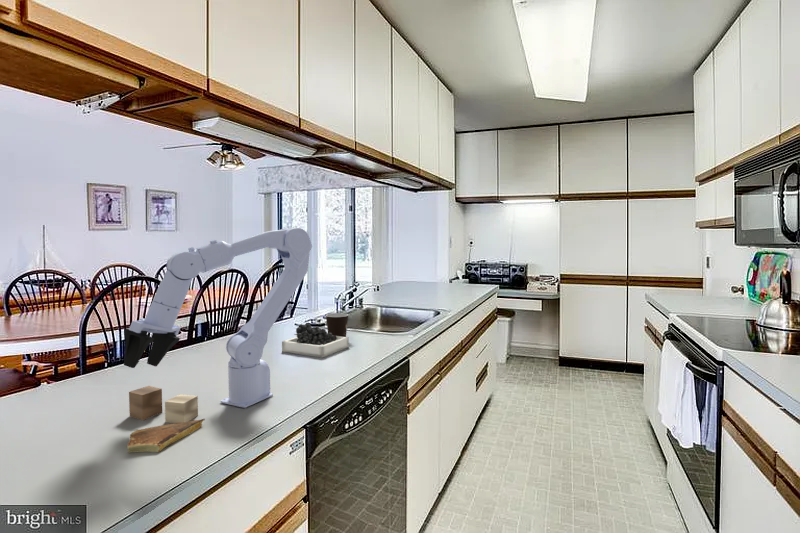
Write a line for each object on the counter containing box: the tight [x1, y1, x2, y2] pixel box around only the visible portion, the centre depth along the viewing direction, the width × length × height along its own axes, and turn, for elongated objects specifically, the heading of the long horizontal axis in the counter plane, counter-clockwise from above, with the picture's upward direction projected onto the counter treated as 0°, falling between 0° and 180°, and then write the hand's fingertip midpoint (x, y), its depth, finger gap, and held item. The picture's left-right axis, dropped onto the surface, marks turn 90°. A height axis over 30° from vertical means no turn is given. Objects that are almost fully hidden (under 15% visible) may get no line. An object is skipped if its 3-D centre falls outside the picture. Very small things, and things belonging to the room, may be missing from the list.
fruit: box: [293, 323, 337, 345], centre depth 154 cm, size 9×8×15 cm
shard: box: [126, 418, 205, 454], centre depth 84 cm, size 13×9×2 cm
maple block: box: [164, 394, 199, 424], centre depth 94 cm, size 4×4×4 cm
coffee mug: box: [325, 312, 349, 337], centre depth 169 cm, size 12×9×10 cm
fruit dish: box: [281, 335, 350, 358], centre depth 154 cm, size 16×17×4 cm
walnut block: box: [128, 385, 163, 421], centre depth 96 cm, size 4×4×6 cm
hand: (140, 365), depth 92 cm, fingers open, 7 cm apart
